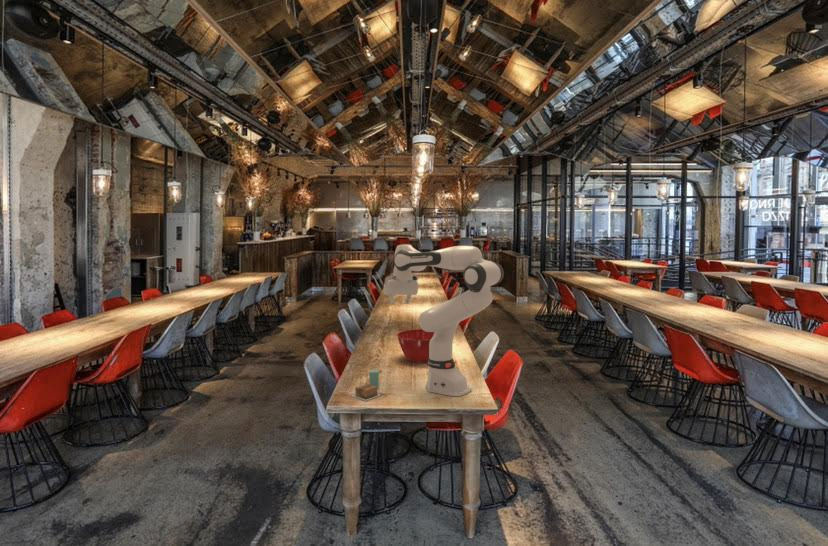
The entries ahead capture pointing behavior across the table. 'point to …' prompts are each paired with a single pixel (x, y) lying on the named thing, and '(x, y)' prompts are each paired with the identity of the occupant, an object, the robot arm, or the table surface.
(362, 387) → the base block
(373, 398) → the board
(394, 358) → the table surface
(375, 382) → the pillar
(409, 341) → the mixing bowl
